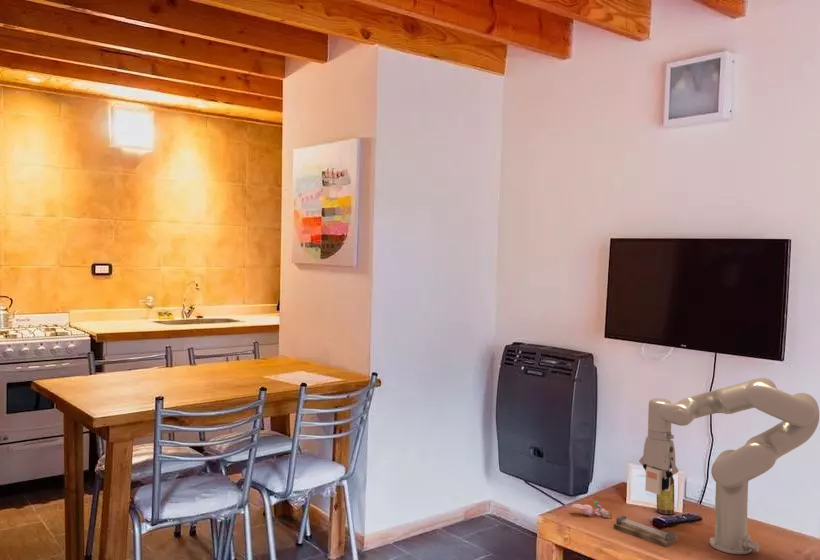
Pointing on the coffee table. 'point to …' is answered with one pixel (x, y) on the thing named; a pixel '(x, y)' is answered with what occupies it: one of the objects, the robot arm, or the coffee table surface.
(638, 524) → the rail
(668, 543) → the board
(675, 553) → the coffee table surface
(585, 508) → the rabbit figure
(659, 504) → the sauce bottle
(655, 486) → the module
